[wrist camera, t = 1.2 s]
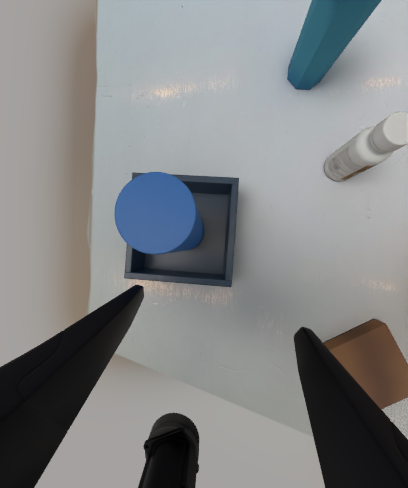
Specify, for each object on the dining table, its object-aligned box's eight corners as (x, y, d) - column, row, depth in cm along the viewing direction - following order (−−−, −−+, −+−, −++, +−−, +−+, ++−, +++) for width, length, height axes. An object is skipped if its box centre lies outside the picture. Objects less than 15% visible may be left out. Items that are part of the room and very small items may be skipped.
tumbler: (176, 255, 23) (132, 267, 10) (162, 222, 23) (101, 191, 10) (210, 241, 23) (209, 234, 10) (195, 207, 23) (176, 158, 10)
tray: (227, 279, 24) (231, 287, 19) (141, 272, 24) (123, 278, 20) (233, 191, 24) (238, 177, 19) (147, 186, 24) (132, 172, 20)
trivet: (344, 410, 23) (354, 421, 21) (312, 347, 23) (319, 354, 21) (408, 381, 22) (422, 390, 21) (374, 318, 23) (386, 323, 21)
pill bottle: (342, 187, 23) (409, 157, 15) (317, 172, 23) (370, 134, 16) (359, 162, 23) (433, 120, 15) (333, 147, 23) (394, 98, 16)
